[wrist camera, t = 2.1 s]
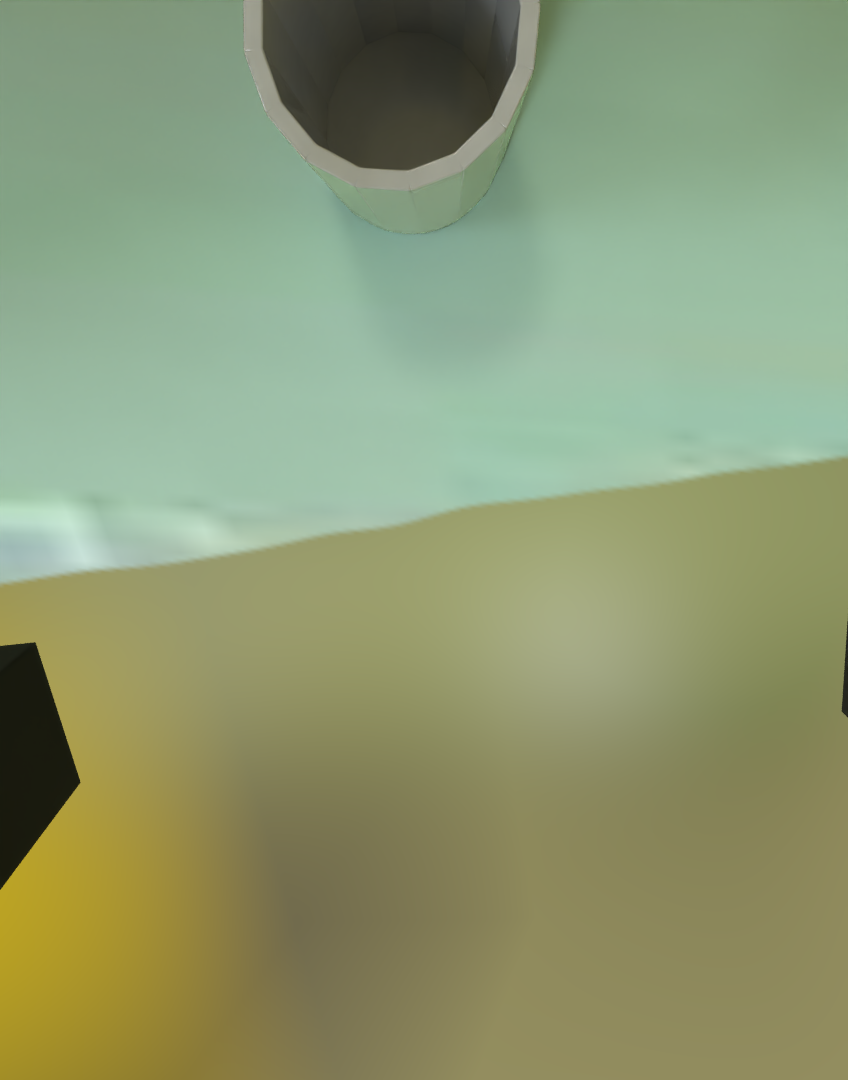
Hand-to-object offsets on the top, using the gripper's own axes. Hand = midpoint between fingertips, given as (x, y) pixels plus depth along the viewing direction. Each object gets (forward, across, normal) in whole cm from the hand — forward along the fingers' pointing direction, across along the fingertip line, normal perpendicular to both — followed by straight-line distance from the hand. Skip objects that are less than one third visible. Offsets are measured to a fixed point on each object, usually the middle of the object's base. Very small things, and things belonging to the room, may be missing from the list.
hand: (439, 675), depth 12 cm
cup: (+22, 0, +12) cm, 25 cm away
